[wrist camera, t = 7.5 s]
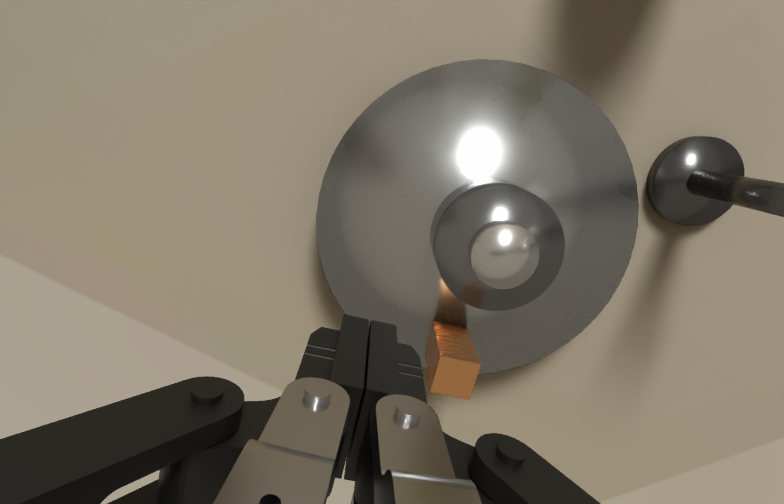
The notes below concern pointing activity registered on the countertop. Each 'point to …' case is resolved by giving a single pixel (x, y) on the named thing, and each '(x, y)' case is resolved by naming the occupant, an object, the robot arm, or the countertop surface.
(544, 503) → the robot arm
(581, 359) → the countertop surface
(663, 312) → the countertop surface
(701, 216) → the dial stand
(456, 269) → the cover
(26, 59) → the countertop surface
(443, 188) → the turntable
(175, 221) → the countertop surface
